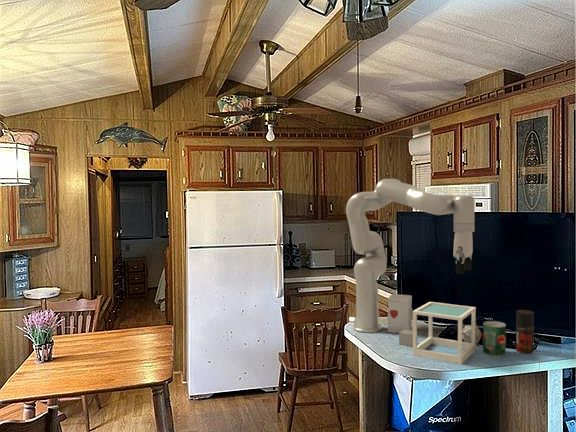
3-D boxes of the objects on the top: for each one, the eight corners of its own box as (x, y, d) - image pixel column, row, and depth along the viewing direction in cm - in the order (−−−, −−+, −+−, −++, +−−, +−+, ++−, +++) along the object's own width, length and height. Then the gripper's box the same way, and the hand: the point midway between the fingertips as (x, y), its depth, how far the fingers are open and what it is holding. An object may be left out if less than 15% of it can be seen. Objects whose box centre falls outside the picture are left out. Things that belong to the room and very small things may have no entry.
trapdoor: (418, 313, 189) (418, 311, 189) (431, 305, 201) (431, 303, 201) (457, 319, 181) (457, 317, 180) (469, 311, 192) (469, 309, 192)
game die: (473, 352, 203) (484, 330, 205) (478, 351, 194) (490, 328, 196) (452, 339, 205) (464, 318, 207) (457, 338, 197) (469, 316, 199)
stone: (399, 345, 202) (399, 332, 201) (404, 341, 206) (404, 329, 206) (411, 347, 199) (411, 334, 199) (416, 343, 203) (416, 331, 203)
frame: (412, 355, 189) (412, 311, 188) (429, 342, 204) (429, 301, 203) (461, 364, 179) (461, 317, 178) (475, 350, 193) (475, 307, 192)
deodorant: (512, 350, 193) (512, 310, 192) (524, 347, 195) (524, 309, 194) (525, 354, 188) (525, 314, 187) (537, 352, 190) (537, 312, 189)
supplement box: (387, 332, 219) (387, 297, 218) (391, 327, 227) (391, 293, 226) (408, 334, 215) (408, 299, 214) (412, 328, 224) (412, 294, 223)
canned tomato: (507, 357, 185) (507, 327, 185) (483, 355, 187) (484, 326, 187) (504, 350, 193) (504, 321, 192) (481, 348, 195) (482, 320, 194)
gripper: (460, 225, 205) (460, 268, 207) (447, 229, 191) (447, 274, 192) (480, 226, 201) (479, 269, 202) (467, 230, 187) (467, 276, 188)
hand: (463, 272), depth 197 cm, fingers open, 9 cm apart
